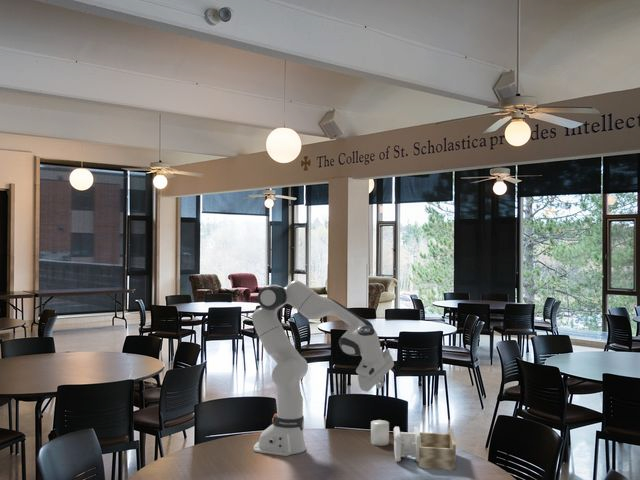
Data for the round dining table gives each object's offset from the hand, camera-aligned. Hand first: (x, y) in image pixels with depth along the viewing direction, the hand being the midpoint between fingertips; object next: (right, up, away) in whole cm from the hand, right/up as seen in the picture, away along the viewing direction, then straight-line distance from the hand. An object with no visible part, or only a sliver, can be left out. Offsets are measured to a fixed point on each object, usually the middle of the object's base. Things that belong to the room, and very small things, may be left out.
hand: (380, 386), depth 262 cm
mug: (+1, -28, +11) cm, 30 cm away
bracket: (+22, -28, -12) cm, 37 cm away
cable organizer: (+10, -28, -10) cm, 31 cm away
